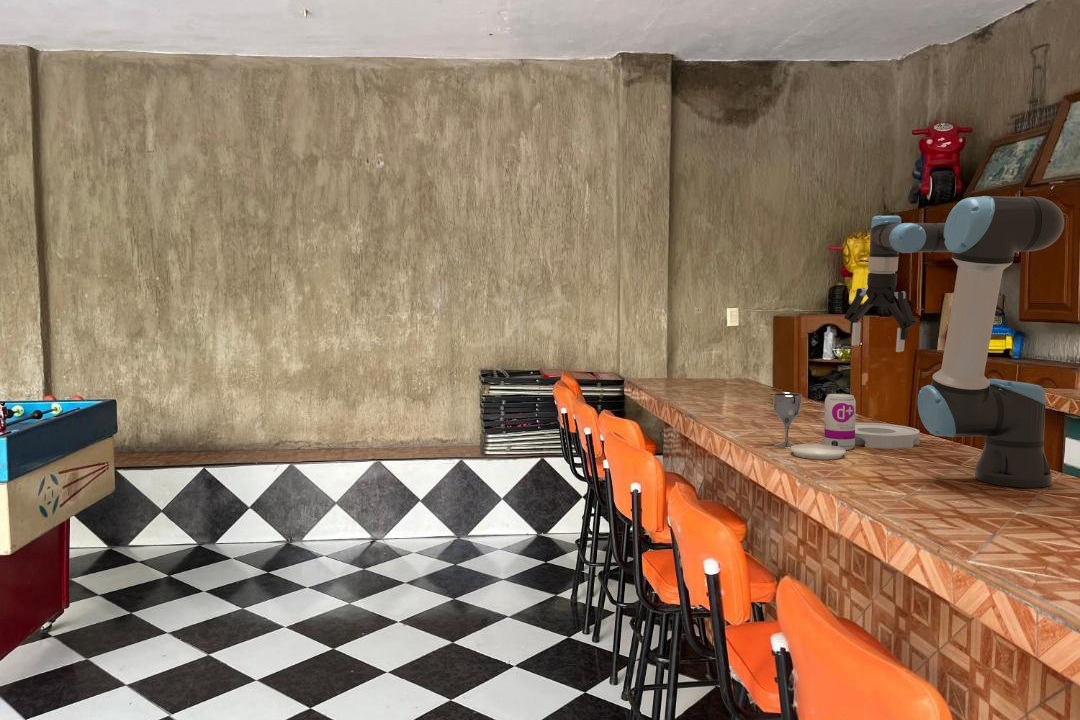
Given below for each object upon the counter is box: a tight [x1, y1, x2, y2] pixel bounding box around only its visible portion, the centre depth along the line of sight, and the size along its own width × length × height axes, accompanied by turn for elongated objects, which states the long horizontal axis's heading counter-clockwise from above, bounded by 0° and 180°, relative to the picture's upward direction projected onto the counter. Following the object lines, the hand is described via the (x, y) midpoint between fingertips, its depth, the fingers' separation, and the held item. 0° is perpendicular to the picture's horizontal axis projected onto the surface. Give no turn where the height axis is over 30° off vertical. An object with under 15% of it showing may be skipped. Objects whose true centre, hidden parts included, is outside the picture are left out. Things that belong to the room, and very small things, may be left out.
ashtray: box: [855, 422, 921, 450], centre depth 234 cm, size 23×23×4 cm
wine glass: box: [772, 391, 803, 449], centre depth 227 cm, size 8×8×15 cm
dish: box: [790, 443, 847, 461], centre depth 214 cm, size 14×14×2 cm
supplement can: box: [823, 393, 857, 451], centre depth 224 cm, size 8×8×15 cm
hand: (877, 348), depth 223 cm, fingers open, 13 cm apart
